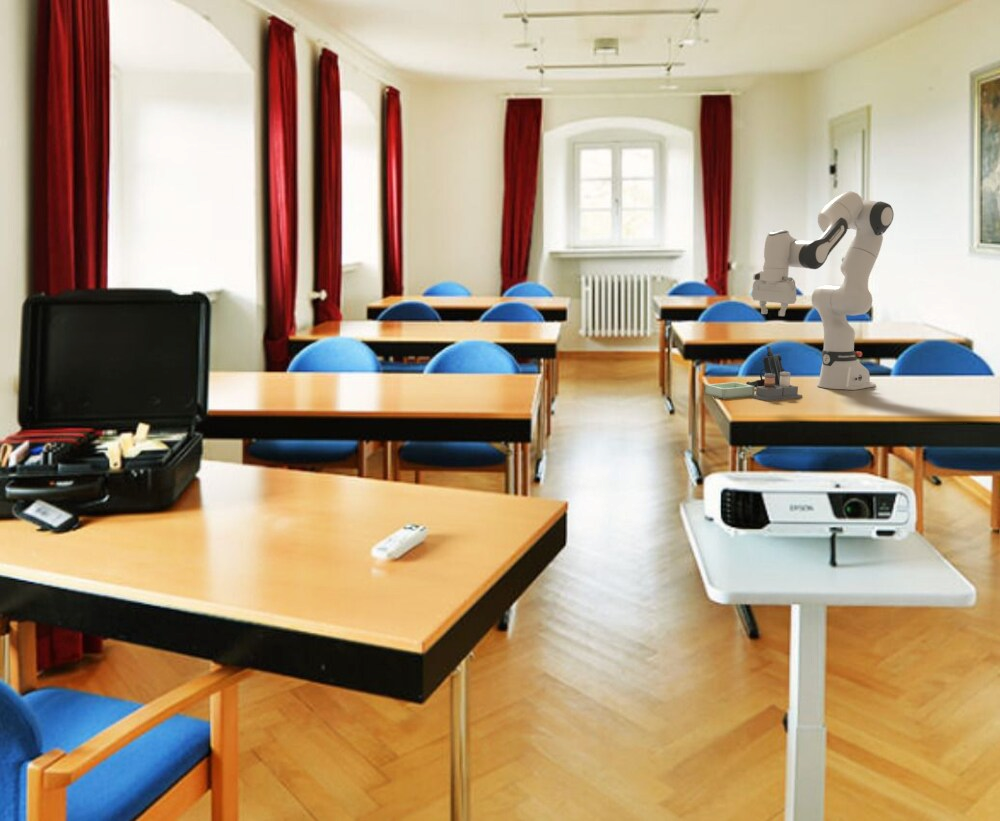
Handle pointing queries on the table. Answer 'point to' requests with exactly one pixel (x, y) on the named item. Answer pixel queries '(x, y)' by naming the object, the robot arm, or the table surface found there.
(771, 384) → the fuse
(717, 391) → the tray
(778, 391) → the block
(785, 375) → the ball
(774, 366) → the gun
